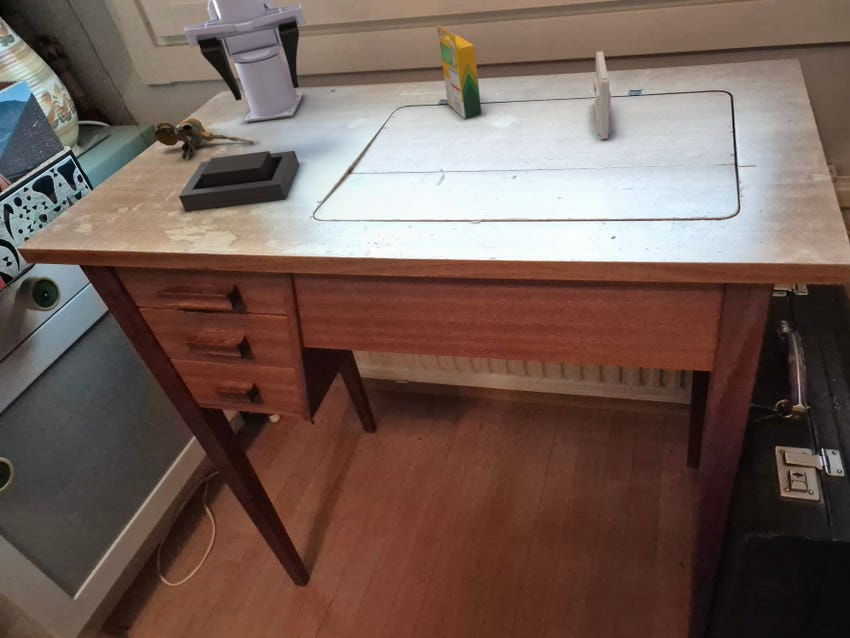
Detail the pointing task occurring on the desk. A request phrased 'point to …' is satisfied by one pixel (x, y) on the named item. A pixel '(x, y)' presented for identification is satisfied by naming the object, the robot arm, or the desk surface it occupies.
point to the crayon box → (460, 74)
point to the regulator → (187, 135)
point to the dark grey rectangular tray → (241, 187)
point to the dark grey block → (238, 169)
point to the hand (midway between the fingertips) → (267, 91)
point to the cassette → (602, 96)
